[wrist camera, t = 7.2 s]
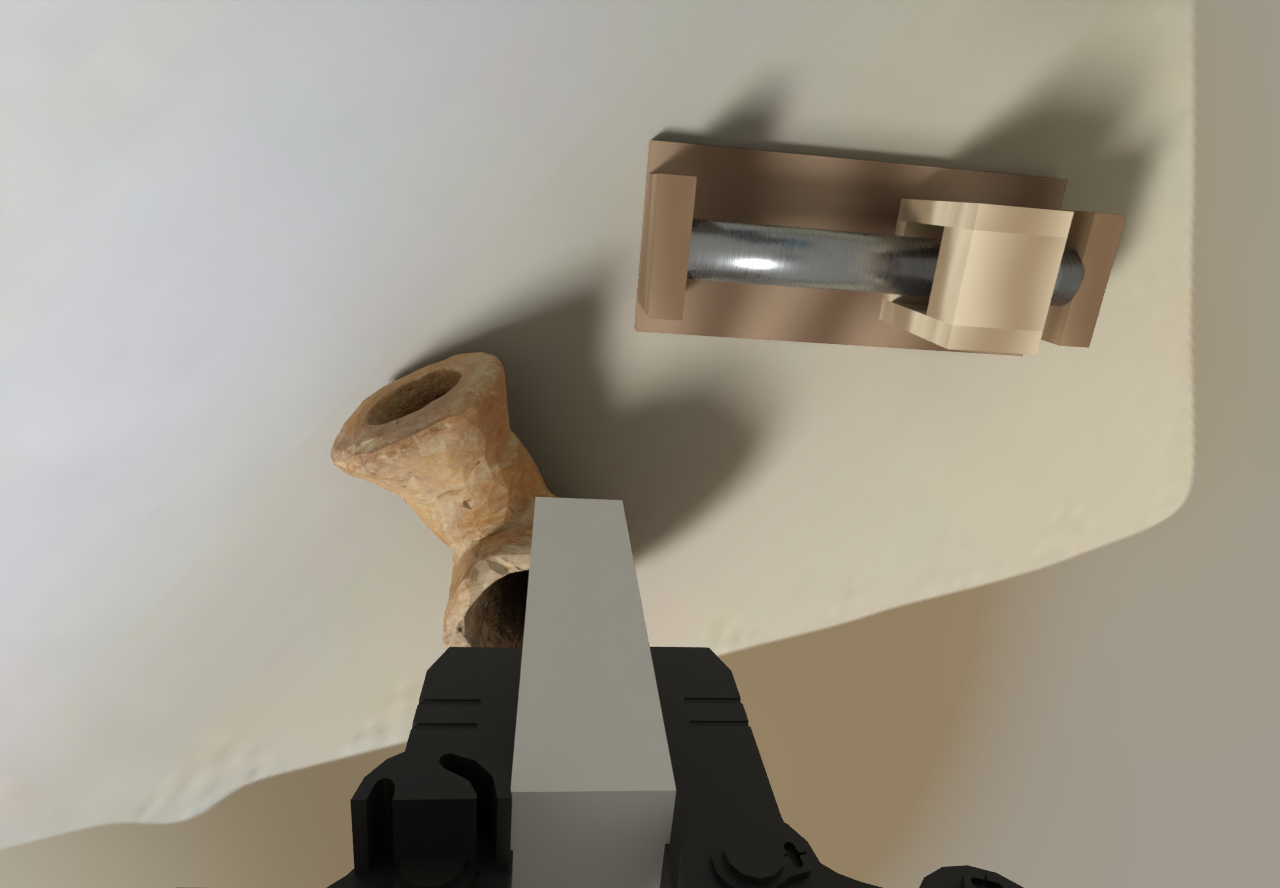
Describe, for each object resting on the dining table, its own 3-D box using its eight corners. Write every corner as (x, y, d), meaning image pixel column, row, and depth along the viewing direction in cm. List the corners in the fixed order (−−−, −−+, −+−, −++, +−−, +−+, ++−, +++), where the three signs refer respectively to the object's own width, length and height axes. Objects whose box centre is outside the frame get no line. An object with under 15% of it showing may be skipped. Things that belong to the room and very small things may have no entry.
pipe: (491, 315, 38) (467, 361, 28) (653, 554, 43) (678, 658, 34) (345, 408, 39) (275, 482, 29) (522, 630, 44) (511, 753, 35)
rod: (678, 275, 35) (687, 282, 32) (684, 216, 34) (693, 219, 31) (1039, 301, 37) (1073, 310, 34) (1053, 247, 36) (1089, 252, 33)
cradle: (634, 328, 39) (645, 351, 33) (649, 140, 36) (664, 134, 30) (1013, 352, 41) (1080, 378, 36) (1057, 179, 38) (1136, 179, 33)
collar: (878, 318, 38) (947, 349, 31) (901, 198, 36) (979, 203, 29) (953, 324, 38) (1036, 354, 32) (979, 205, 36) (1073, 211, 30)
